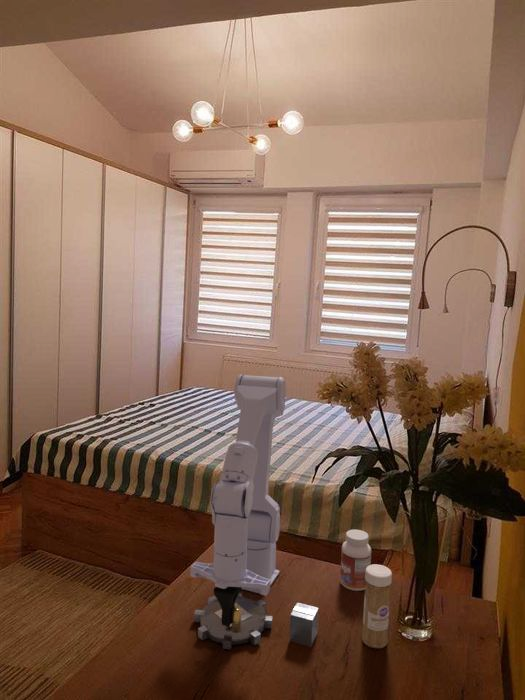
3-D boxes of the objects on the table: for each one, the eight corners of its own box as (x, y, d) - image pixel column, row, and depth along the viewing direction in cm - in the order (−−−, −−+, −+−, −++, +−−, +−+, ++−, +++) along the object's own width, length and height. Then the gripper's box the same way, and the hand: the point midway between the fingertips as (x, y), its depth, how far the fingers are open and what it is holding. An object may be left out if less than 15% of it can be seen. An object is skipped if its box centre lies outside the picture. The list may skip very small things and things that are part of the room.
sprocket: (179, 618, 98) (179, 590, 98) (240, 591, 107) (241, 566, 107) (223, 661, 87) (224, 630, 87) (288, 627, 96) (289, 599, 96)
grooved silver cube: (296, 627, 97) (297, 601, 97) (317, 633, 96) (318, 607, 95) (289, 640, 93) (290, 614, 93) (311, 647, 92) (312, 619, 91)
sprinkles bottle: (375, 653, 91) (380, 579, 89) (356, 638, 94) (360, 567, 93) (393, 643, 94) (397, 571, 92) (373, 629, 97) (377, 560, 96)
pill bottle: (335, 577, 115) (338, 528, 113) (362, 574, 116) (364, 526, 115) (346, 593, 109) (348, 542, 107) (374, 590, 110) (376, 540, 109)
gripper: (182, 550, 90) (180, 624, 92) (260, 568, 85) (257, 647, 87) (201, 533, 97) (199, 603, 98) (275, 549, 92) (272, 623, 93)
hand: (228, 622), depth 93 cm, fingers closed, pressing on sprocket
